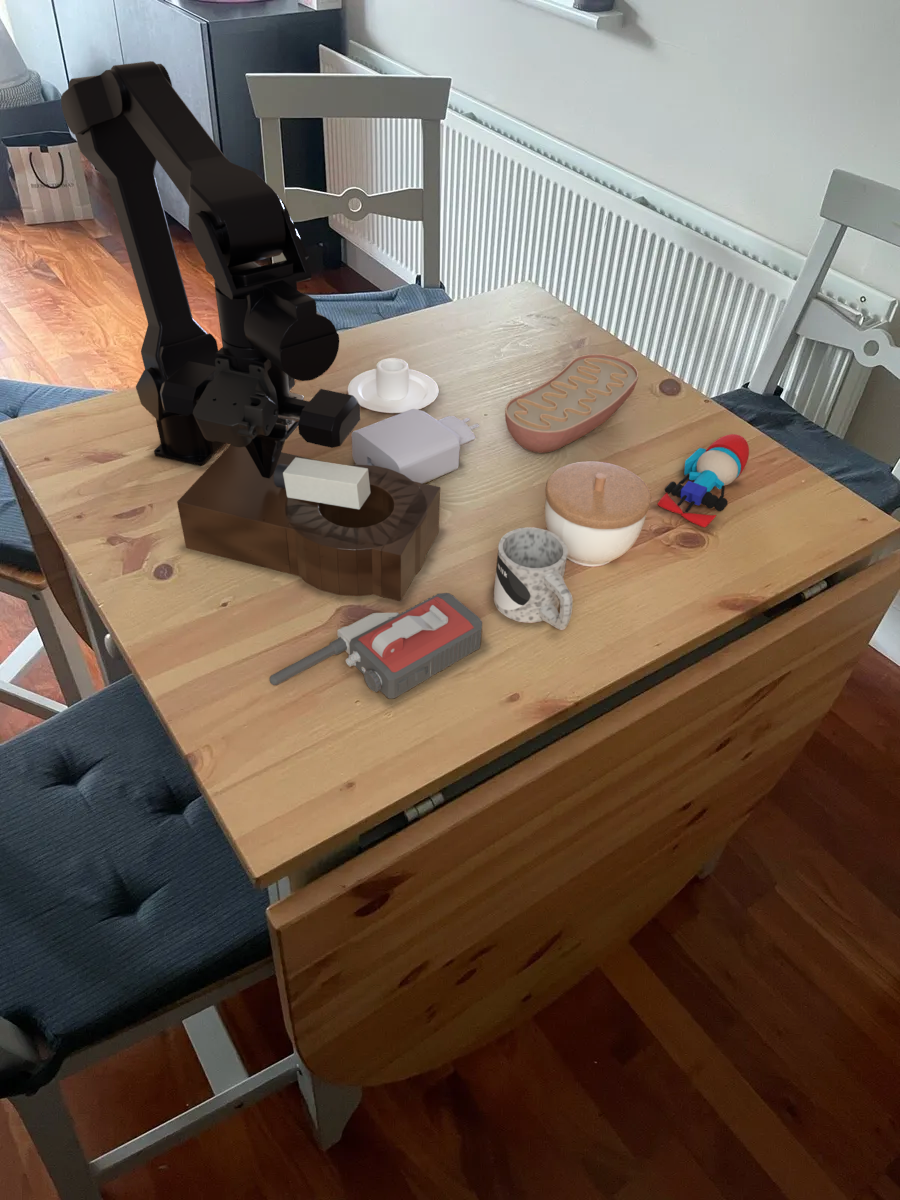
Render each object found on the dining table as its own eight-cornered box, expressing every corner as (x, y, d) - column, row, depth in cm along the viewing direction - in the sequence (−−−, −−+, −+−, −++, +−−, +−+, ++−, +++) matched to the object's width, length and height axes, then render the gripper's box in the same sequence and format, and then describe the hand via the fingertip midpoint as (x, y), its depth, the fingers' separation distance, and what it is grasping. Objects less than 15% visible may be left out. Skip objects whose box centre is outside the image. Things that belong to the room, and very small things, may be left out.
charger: (497, 455, 111) (399, 499, 104) (449, 423, 116) (352, 462, 109) (500, 421, 108) (399, 463, 101) (450, 389, 113) (350, 427, 106)
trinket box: (657, 550, 99) (675, 478, 92) (596, 595, 93) (611, 522, 87) (580, 506, 104) (592, 435, 98) (518, 546, 98) (526, 474, 92)
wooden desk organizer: (179, 554, 95) (170, 508, 91) (244, 480, 105) (238, 435, 101) (398, 610, 90) (398, 563, 86) (443, 526, 100) (446, 481, 96)
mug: (481, 590, 93) (485, 538, 88) (535, 571, 95) (542, 520, 91) (535, 652, 86) (542, 601, 82) (592, 630, 89) (602, 579, 85)
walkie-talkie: (436, 594, 92) (265, 685, 82) (438, 560, 89) (260, 650, 79) (495, 643, 87) (320, 745, 77) (498, 609, 84) (317, 711, 74)
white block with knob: (274, 495, 94) (269, 470, 92) (287, 479, 96) (283, 455, 94) (359, 509, 91) (356, 484, 89) (370, 493, 93) (368, 468, 91)
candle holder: (386, 363, 127) (386, 334, 124) (456, 391, 122) (457, 361, 120) (329, 397, 120) (327, 367, 117) (401, 428, 115) (401, 397, 112)
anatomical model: (586, 380, 126) (591, 346, 123) (649, 405, 122) (656, 371, 118) (487, 448, 112) (490, 412, 109) (554, 479, 108) (559, 442, 105)
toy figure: (709, 541, 103) (766, 465, 110) (713, 508, 99) (771, 432, 106) (649, 519, 106) (707, 447, 114) (650, 487, 103) (710, 414, 110)
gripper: (113, 353, 80) (145, 499, 90) (310, 395, 76) (319, 542, 86) (179, 303, 88) (201, 442, 98) (360, 338, 84) (363, 479, 94)
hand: (268, 475), depth 94 cm, fingers closed
